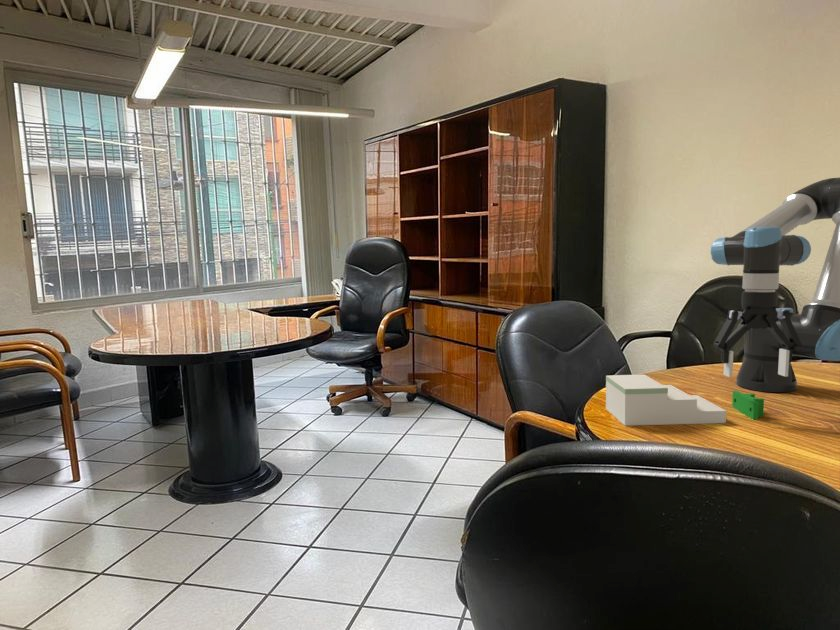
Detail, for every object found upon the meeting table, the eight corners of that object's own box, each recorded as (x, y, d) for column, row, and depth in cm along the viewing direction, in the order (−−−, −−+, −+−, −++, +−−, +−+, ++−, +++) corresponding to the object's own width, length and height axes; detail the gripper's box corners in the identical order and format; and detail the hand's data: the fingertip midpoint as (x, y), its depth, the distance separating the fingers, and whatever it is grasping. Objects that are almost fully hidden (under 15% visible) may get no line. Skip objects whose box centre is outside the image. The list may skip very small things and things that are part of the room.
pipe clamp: (769, 421, 131) (770, 402, 130) (753, 421, 131) (753, 402, 130) (747, 407, 142) (747, 390, 141) (732, 407, 142) (732, 390, 141)
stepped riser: (696, 406, 143) (697, 372, 142) (725, 423, 129) (727, 386, 128) (605, 408, 144) (605, 375, 143) (624, 425, 130) (625, 389, 129)
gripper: (800, 288, 136) (795, 371, 138) (700, 290, 136) (697, 373, 139) (822, 290, 128) (816, 378, 131) (716, 292, 129) (712, 379, 131)
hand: (755, 375), depth 135 cm, fingers open, 13 cm apart
